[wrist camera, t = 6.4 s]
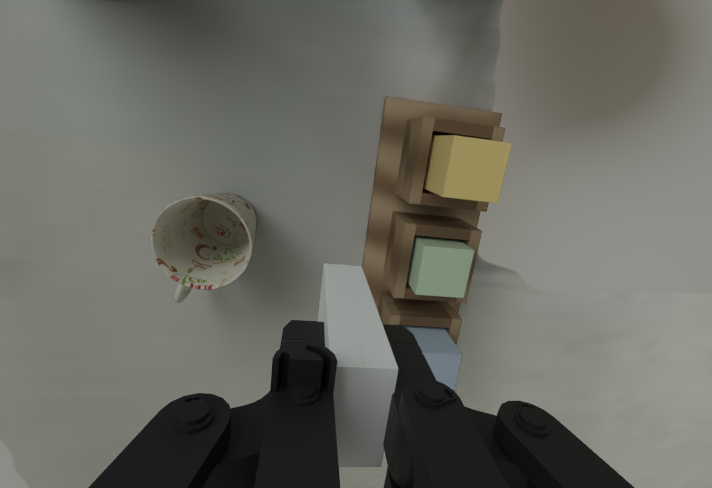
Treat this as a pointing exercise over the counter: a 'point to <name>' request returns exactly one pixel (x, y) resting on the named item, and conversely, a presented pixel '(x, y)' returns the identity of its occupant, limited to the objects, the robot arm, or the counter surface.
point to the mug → (204, 241)
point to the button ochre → (466, 167)
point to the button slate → (438, 352)
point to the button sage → (439, 266)
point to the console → (418, 209)
